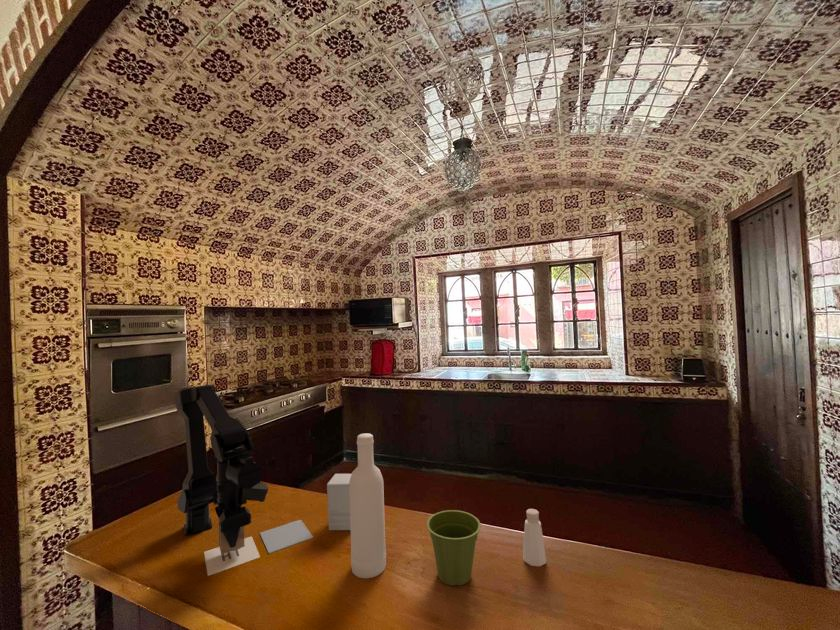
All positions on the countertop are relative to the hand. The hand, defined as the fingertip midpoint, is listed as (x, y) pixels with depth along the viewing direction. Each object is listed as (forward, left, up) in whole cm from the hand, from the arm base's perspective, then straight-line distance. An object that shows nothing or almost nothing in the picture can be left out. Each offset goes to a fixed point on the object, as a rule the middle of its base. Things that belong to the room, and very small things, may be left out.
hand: (231, 541), depth 90 cm
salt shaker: (+46, +57, -3) cm, 73 cm away
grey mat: (0, +13, -3) cm, 13 cm away
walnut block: (0, 0, -1) cm, 1 cm away
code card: (0, 0, -3) cm, 3 cm away
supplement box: (+4, +28, -3) cm, 28 cm away
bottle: (+25, +25, -3) cm, 36 cm away
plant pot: (+39, +39, -3) cm, 55 cm away
